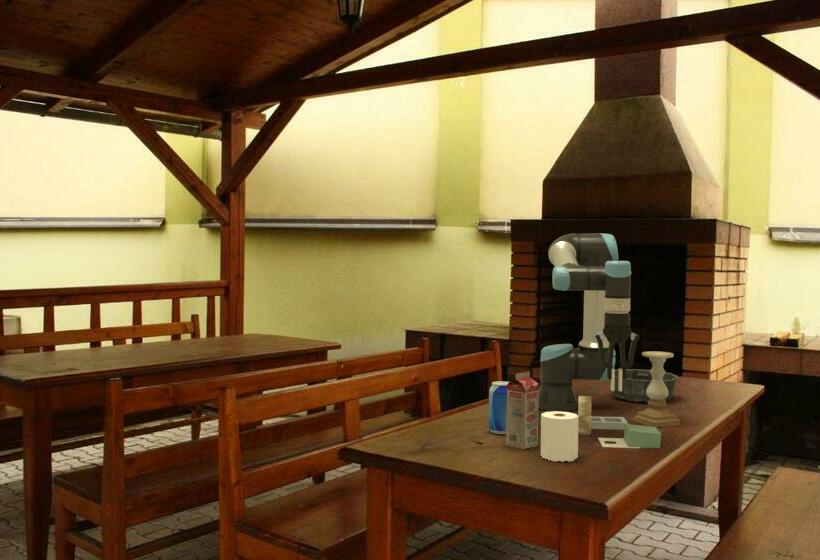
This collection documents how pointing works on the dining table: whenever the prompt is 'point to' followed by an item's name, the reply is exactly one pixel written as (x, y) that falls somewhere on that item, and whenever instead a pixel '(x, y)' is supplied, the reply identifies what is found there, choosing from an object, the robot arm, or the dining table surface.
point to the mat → (620, 442)
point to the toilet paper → (559, 436)
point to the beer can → (498, 407)
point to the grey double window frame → (608, 423)
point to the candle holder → (657, 395)
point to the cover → (642, 436)
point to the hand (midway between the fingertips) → (616, 390)
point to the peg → (584, 415)
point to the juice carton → (522, 411)
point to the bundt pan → (641, 385)
